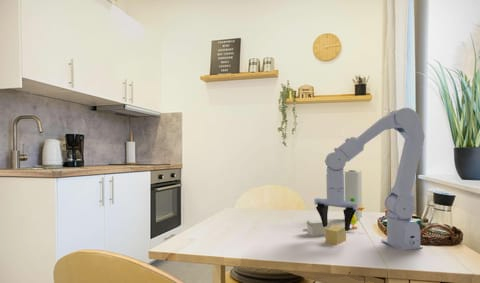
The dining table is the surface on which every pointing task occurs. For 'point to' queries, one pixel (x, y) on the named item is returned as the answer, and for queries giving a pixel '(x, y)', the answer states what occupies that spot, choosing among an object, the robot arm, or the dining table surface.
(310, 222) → the cream brick
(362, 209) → the toy figure
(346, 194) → the paper towel roll
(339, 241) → the ochre brick
